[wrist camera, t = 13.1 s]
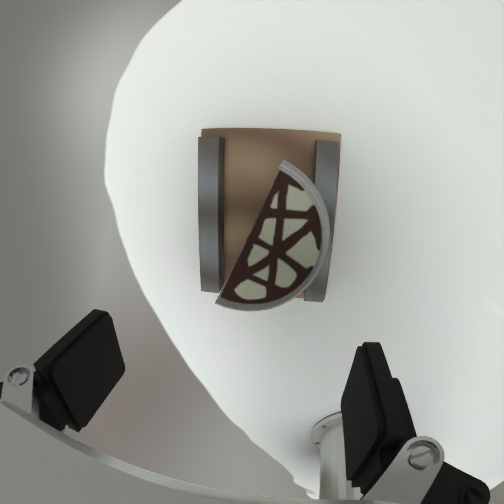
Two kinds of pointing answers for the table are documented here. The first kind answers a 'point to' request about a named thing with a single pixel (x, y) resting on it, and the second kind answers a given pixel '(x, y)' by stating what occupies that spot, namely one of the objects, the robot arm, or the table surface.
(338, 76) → the table surface
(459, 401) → the table surface
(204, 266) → the cradle
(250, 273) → the food container
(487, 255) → the table surface
